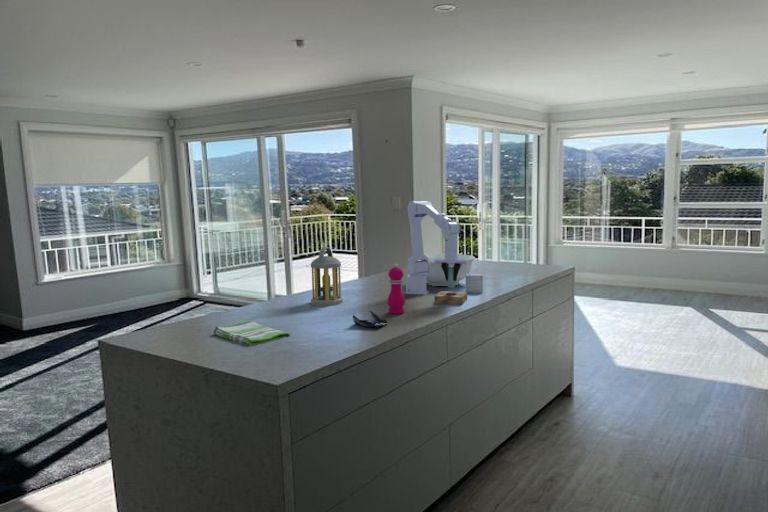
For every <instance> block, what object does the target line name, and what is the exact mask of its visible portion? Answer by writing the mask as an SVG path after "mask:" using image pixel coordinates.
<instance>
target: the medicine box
mask: <svg viewBox="0 0 768 512" xmlns="http://www.w3.org/2000/svg"><path fill="white" fill-rule="evenodd" d="M483 278H484V277H483V274H480V273H479V274H478V273H473V274H470V273H469V274H466V277H465V292H467V294H483V293H484V289H483V288H484V285H483V284H484V283H483V282H484V279H483Z"/></svg>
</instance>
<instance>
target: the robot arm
mask: <svg viewBox="0 0 768 512" xmlns="http://www.w3.org/2000/svg"><path fill="white" fill-rule="evenodd" d="M427 216H429V218H431V219H433V223H434V224H435V225H436V226H437V227H439V229H441V233H442V236H443V237H442V238H443V240H444V254H445V259H435V260H434V264H441V267H442V269H443V272H444V274H445V278H446V281H448V267H449V264H455V265H454V281H456V280H457V275H458V272H459V269H460V267H461V264H465V265H468V260H462V259H458V254H459V253H458V251H459V250H458V249H459V247H458V246H459V245H458V244H459V243H458V242H459V240H458V239H459V237H458V236H459V234H460V233H461V229H462V228H461V224H460V223H459V222H458V221H455V220H454V221H453V220H452V219H451V218H450V217H448V216H447V215H446V214H445V212H443V213H442V212H440V213H439V211H437V210H436V208H434V207H433V203H432V202H430V201H429V200H411V201H409V202H408V205H407V217H408V219H409V227H410V228H409V229H410V231H409V232H410V241H411V251H412V255H411V256H410V257H408V259H407V272H408V274H407V275H406V279H405V285H406V287H405V288H406V289H405V290H406V292H405V294H406V295H420V294H421V295H422V294H423V295H425V296H426V295H427V294H429V292H430V291H429V290H427V289H428V288H427V282H428V281H427V280H426V275H428V272H429V271H430V264H429V261H428V257H427V256H425V255H426V254H424V245H423V243H424V242H423V241H424V240H423V233H422V231H423V230H422V220H423V219H425V218H426V217H427ZM416 260H421V261H416ZM446 262H455V263H446ZM423 295H422V296H423Z"/></svg>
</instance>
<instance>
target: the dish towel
mask: <svg viewBox="0 0 768 512" xmlns="http://www.w3.org/2000/svg"><path fill="white" fill-rule="evenodd" d="M212 333H213V334H214V336H218V337H221V338H224V339H226V340H229V341H232V342H235V343H238V344H242V345H245V346H249V347H251V346H256V345H260V344H264V343H268V342H271V341H275V340H279V339H284V338H288V337H290V336H291V334H290V333H289V332H285V331H282V330H279V329H278V330H277V329H275V328H271V327H268V326H265V325H262V324H259V323H257V322H256V321H253V320H245V321H239V322H236V323H229V324H225V325H215V328H214V330H213V331H212Z"/></svg>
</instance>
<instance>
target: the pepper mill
mask: <svg viewBox="0 0 768 512" xmlns="http://www.w3.org/2000/svg"><path fill="white" fill-rule="evenodd" d="M388 277H389V278H390V280H389V281H390V282H389V283H390V285H391V286H390V292H389V295H388V298H387V303H386V304H388V306H389V308H388V313H389V314H390V313H394V314H393V315H401V314H400V313H402V314H404V313H405V308H404V306H405V305H406V298H405V296H404V294H403V291H402V284H403V279H402V278H403V277H404V271H403V269H402V268H400V267H399V265H398V263H394V264H393V267H391V268H390V269H389V271H388Z"/></svg>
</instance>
